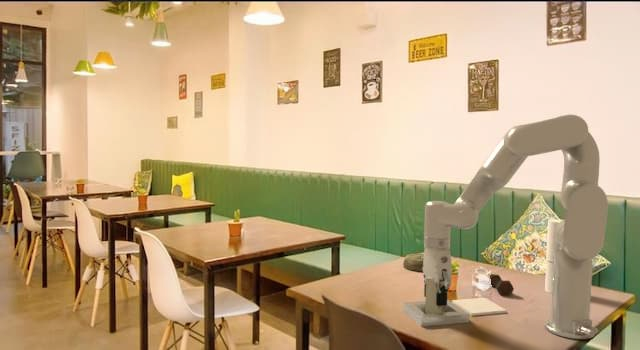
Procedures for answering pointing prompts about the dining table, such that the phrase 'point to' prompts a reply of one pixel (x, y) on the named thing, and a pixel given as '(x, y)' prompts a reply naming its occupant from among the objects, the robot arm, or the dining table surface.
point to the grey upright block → (432, 297)
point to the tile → (479, 306)
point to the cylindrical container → (550, 255)
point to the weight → (414, 262)
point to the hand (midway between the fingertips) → (435, 300)
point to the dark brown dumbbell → (501, 285)
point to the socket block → (435, 314)
